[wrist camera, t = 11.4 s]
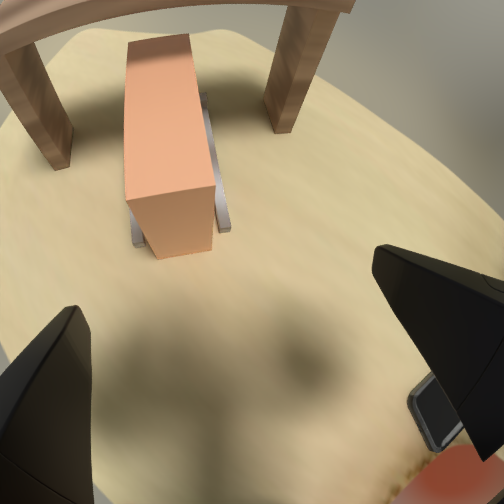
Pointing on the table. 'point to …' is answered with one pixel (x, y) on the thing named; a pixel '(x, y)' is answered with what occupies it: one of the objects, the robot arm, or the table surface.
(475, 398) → the robot arm
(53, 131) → the walnut bridge
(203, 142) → the terracotta panel
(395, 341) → the table surface
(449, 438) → the phone
